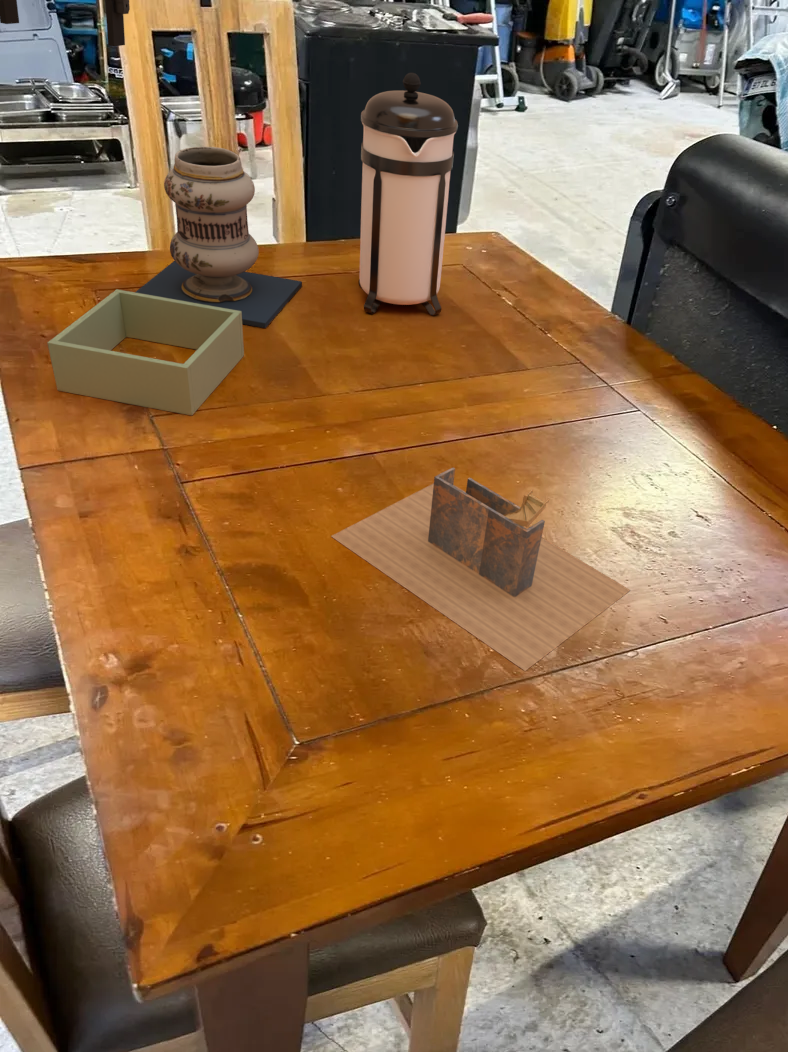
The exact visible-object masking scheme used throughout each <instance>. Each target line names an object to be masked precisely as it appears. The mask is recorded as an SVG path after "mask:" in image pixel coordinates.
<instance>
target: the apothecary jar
mask: <svg viewBox="0 0 788 1052" xmlns="http://www.w3.org/2000/svg"><path fill="white" fill-rule="evenodd" d="M163 187H164V192H165V193H166V195H167V196H168V198H169V199H170V200H171V201H172V202H173V203H174V206H175V214H176V231H177V232H176V233H174V235H173V236H172V239H171V240H170V244H169V252H170V256H171V258H172V260H173V261H175V262H176V263H177V264H178V265H180V266H181V267H182V268H184V269H185V270H187V271H189V272H192V273H195V274H197V275H195V276H192V277H190V278H188V279H186V280H185V281H184V282H183V284H182V290H183V292H184V293H185V294H186V295H188V296H189V297H191V298H193V299H196V300H200V301H205V302H215V303H220V302H224V301H238V300H241V299H244V298H246V297H248V296H249V295H250V294H251V292H252V287H251V285H250V283H249V282H248V281H246V280H245V279H243V278H241V277H239V276H236V275H237V274H240V273H243V272H247V271H248V270H250V269H251V268H252V267H253V266H254V264H255V263H256V262H257V261H258V258H259V252H260V250H259V245H258V243H257V240H255V238H254V237H253V236H252V235H251V234H250V232H249V222H248V210H247V209H248V204H249V203H250V202H251V201H252V200H253V198H254V197H255V192H256V187H255V183H254V181H253V179H252V178H251V176H250V175H249V174H248V173H247V172H246V171H244V168H243V166H242V160H241V157H240V155H239V154H237V152H234V151H232V150H230V149H228V148H227V149H226V148H224V147H218V146H217V147H215V146H191V147H185V148H183V149H180V150H178V151H177V152H176V153H175V154H174V163H173V168H172V169H171V170H170V171H168V173H167V175H165V178H164V181H163Z"/></svg>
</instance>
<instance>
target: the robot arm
mask: <svg viewBox="0 0 788 1052" xmlns="http://www.w3.org/2000/svg"><path fill="white" fill-rule="evenodd" d="M104 3H105V19H106V34H107V45H108V46H110V47H122V46H125V45H126V36H125V18H124V15H129V12H130V7H131V6H130V0H104ZM18 9H19V8H18V1H17V0H0V24H3V25H12V24H13V25H14V24H20V17H19V16H20V15H19V10H18Z"/></svg>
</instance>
